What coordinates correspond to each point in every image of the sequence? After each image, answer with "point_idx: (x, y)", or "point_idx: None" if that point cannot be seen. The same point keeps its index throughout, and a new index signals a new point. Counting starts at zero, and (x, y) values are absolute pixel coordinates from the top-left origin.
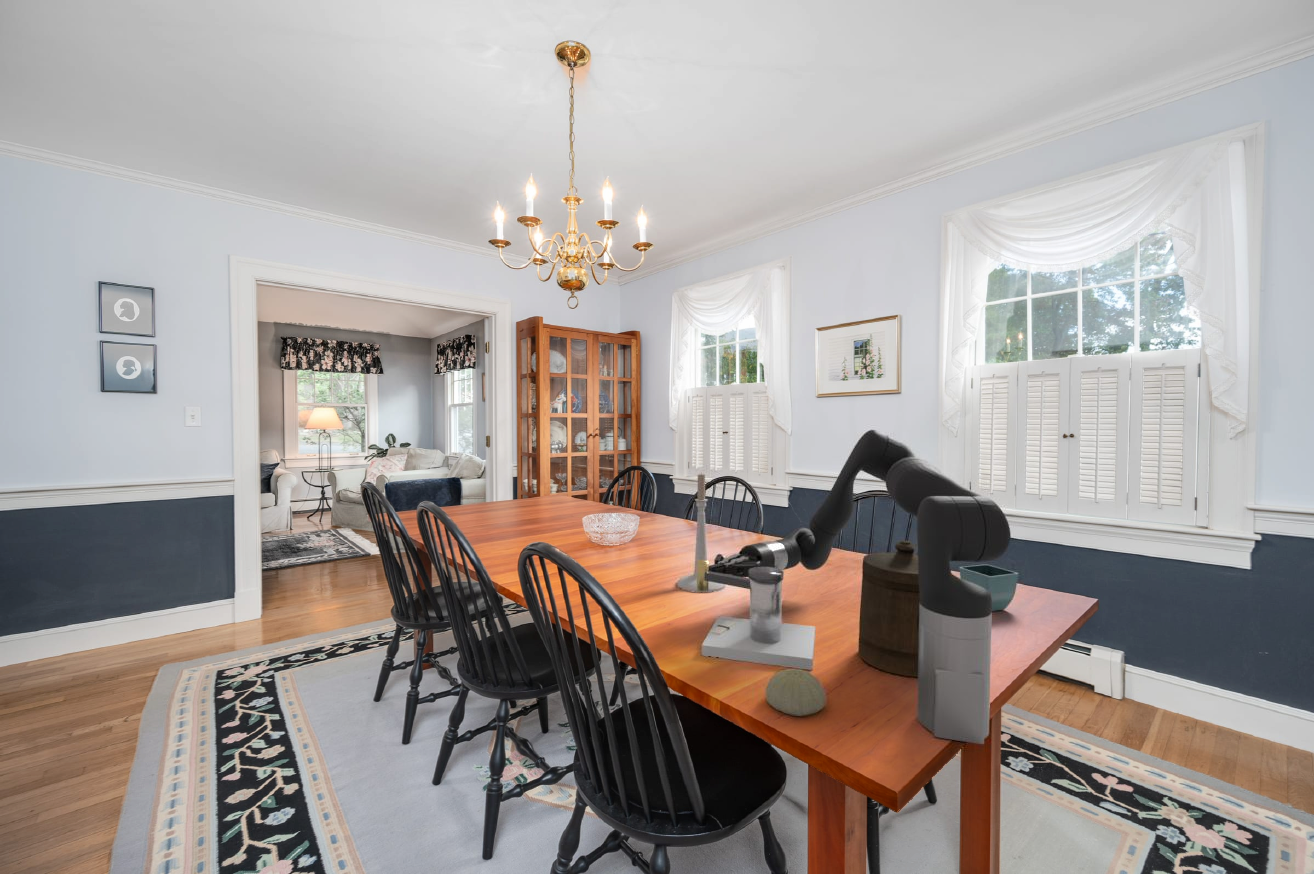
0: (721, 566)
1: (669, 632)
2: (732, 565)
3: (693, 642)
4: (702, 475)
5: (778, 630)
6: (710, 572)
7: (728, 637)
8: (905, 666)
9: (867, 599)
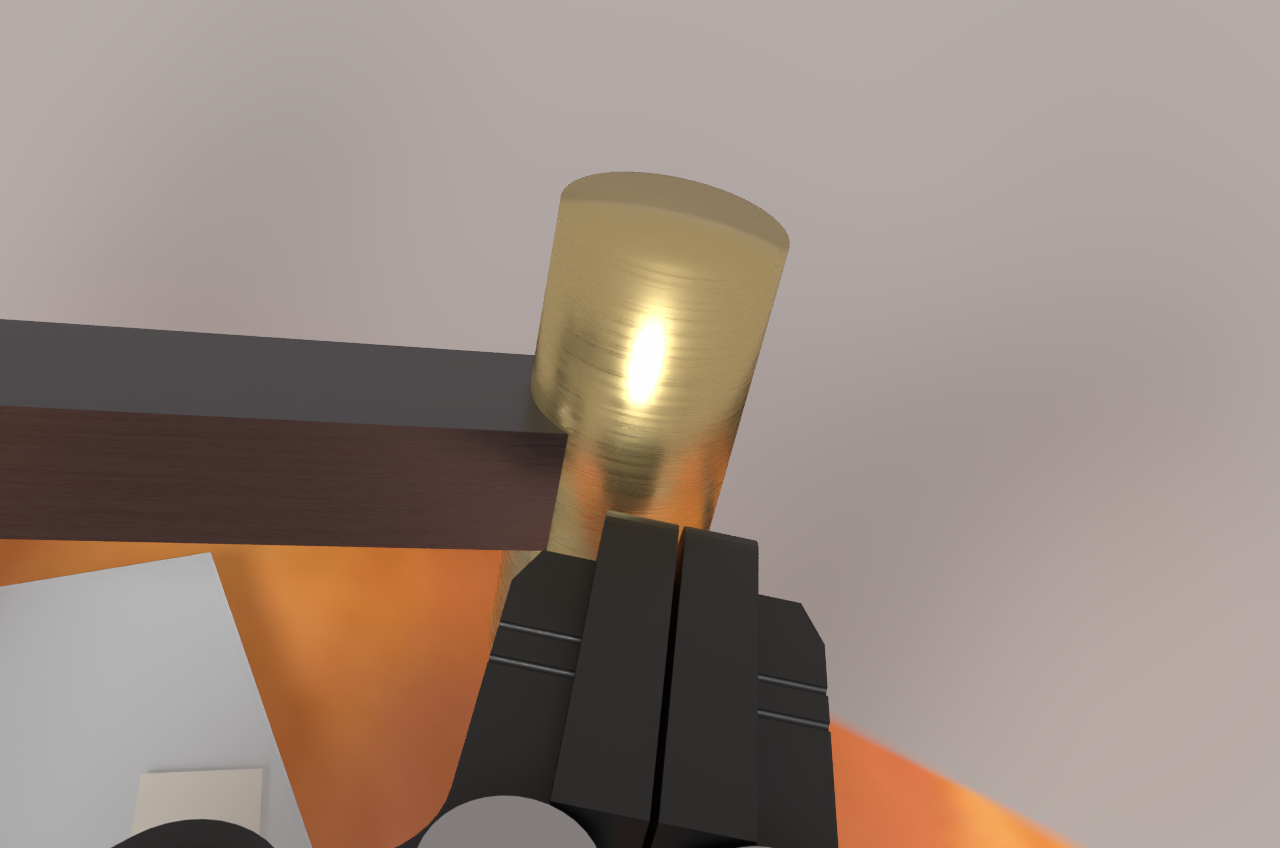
0: (555, 752)
1: None
2: (236, 838)
3: (416, 771)
4: None
5: None
6: (478, 394)
7: (21, 782)
8: None
9: None
